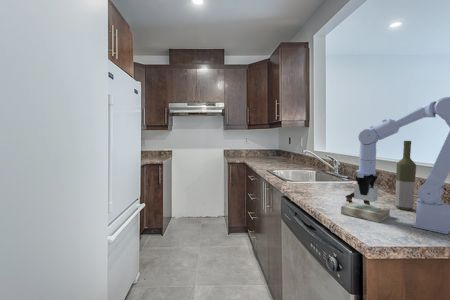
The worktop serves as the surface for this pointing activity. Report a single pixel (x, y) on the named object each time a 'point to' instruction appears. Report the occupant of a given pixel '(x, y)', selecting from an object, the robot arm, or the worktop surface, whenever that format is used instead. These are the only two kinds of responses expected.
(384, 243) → the worktop surface
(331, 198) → the worktop surface
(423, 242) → the worktop surface
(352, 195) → the broken clay pot shard
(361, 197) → the block
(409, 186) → the bottle
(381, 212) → the stand
